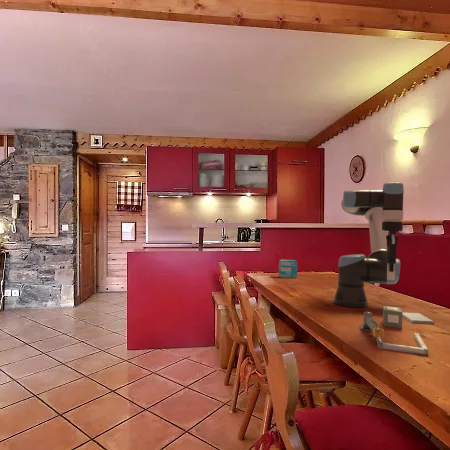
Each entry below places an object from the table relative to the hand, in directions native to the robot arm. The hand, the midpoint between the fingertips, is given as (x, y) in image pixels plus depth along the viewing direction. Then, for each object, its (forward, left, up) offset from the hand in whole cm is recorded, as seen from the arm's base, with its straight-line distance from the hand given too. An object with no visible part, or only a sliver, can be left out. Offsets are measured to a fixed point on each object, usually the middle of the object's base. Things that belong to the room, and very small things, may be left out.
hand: (390, 279), depth 137 cm
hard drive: (-4, +10, -17) cm, 20 cm away
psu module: (+8, 0, -16) cm, 18 cm away
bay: (+30, 0, -16) cm, 34 cm away
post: (+19, -9, -16) cm, 26 cm away
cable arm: (+29, -8, -13) cm, 32 cm away
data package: (-83, -56, -16) cm, 101 cm away
